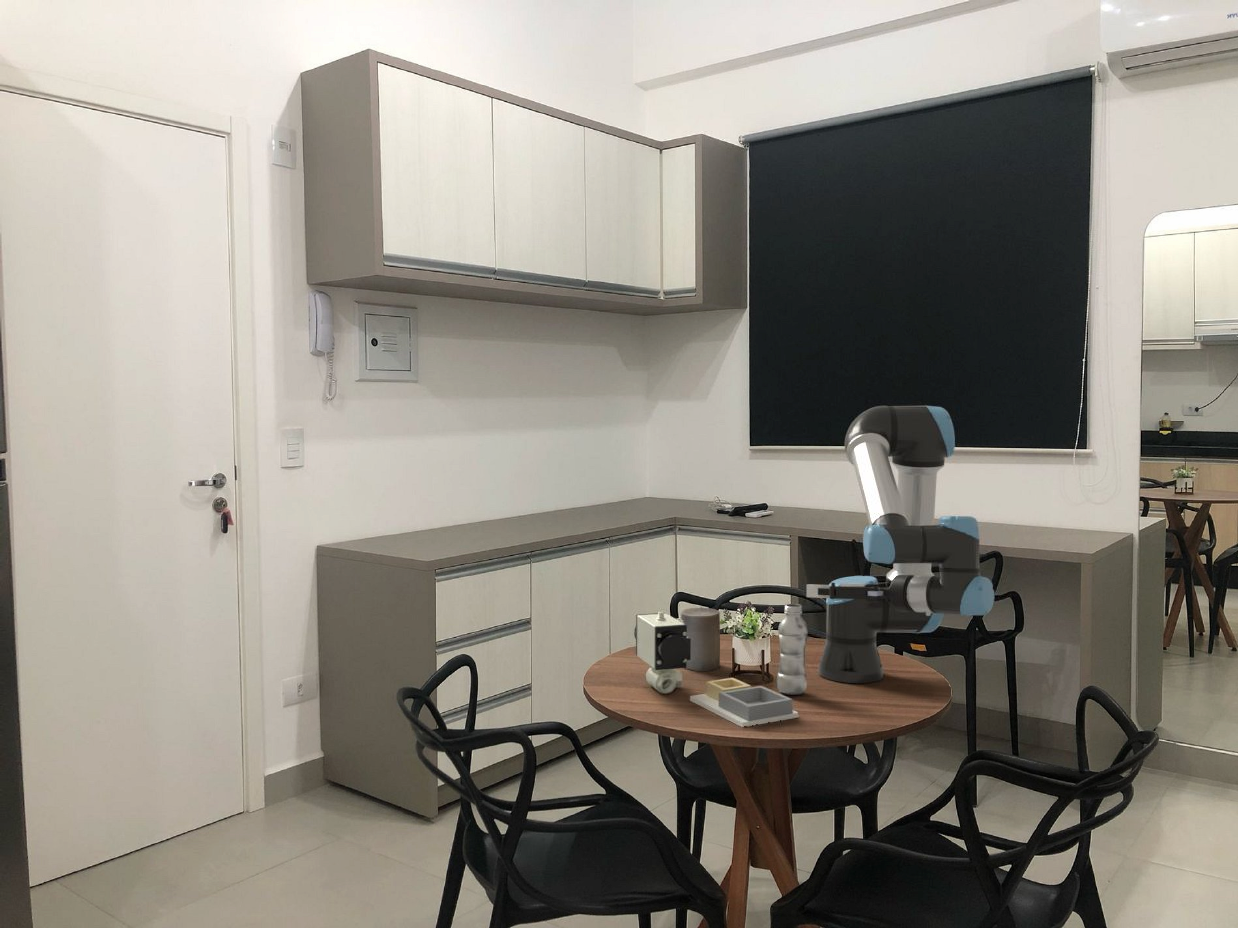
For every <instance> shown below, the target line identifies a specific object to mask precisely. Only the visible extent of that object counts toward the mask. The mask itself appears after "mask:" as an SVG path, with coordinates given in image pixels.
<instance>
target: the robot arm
mask: <svg viewBox="0 0 1238 928" xmlns="http://www.w3.org/2000/svg"><path fill="white" fill-rule="evenodd" d="M952 421H953V420H952V418H951V415H950V414H949V412H948V411H947V410H946V408H943V407H942V406H933V405H892V406H891V405H889V406H888V405H879V406H877V405H876V406H874V407H871V408H869V409H867V410H865V411H863V412H861V413H860V414H859V415H857V417H855V419H854V420H853V421H852V422H851V423H850V426H849V427H848V429H847V432H846V434H845V438H844V451H845V455H846V458H847V461H848V462H849V463H850V464H851V465H852V466H853V467H854V471H855V474H856V477H857V482H858V487H859V490H860V494H861V498H862V501H863V504H864V507H865V513H866V516H867V519H868V520H867V521H868V523H869V525H867V526H866V527H865V529H864V531H863V536H862V545H863V546H862V547H863V553H864V554H863V555H864V557H865V559H866V560H867V562H870V563H876V564H886V565H890V564H892V566H893V568H892V569H890V571H888V572H887V573H886V577H885V582H879V581H878V579H877V578H876V577H874V576H872V575H871V576H870V575H864V576H863V575H854V576H851V575H850V576H845V577H840V578H837V579H834V580H832V581H831V582H830V583H829V584H812V583H811V584H810V583H809V584H806V598H816V599H817V598H820V599H826V600H825V603H826V626H825V627H826V628H825V629H826V632H825V633H826V635H825V637H826V638H825V639H826V640H825V645H824V647H823V650H822V653H821V657H820V660H819V662H818V666H817V668H818V669H817V672H818V673H817V674H818V675H819V676H820V677H822V678H824V679H827V680H830V681H834V682H835V681H836V682H840V683H850V684H866V683H867V684H868V683H874V682H878V681H880V680H882V679H883V678H884V666H883V663H882V661H881V656H880V653H879V650H878V647H877V633H907V634H908V633H912V634H922V633H932V632H934V631H936V630H937V628H938V627H939V626H940V625H941V623H942V620H943V617H944V615H956V616H957V615H959V616H985V615H987V614H989V612H991V610H992V608H993V606H994V602H995V589H994V588H993V587H994V586H993V582H992V581H991V580H990V579H989V578H988V577H985V576H982V575H981V572H980V541H981V539H980V534H979V532H980V531H979V523H978V520H977V519H976V518H975V517H974V516H970V515H969V516H966V515H962V516H961V515H956V516H955V515H954V516H953V515H948V516H947V515H946V516H943V515H942V516H941V517H939V518H938V522H937V525H936V524H935V512H936V496H937V495H936V494H937V479H938V477H937V475H938V472H939V471H940V470H941V469H942V468H944V467H945V460H946V459H945V458H950V457H952V456H953V455H954V453H955V451H954V450H955V448H956V445H955V444H956V442H955V440H956V437H955V436H956V435H955V428H954V424H953V422H952ZM889 457H892V458H891V459H892V462H891V461H890V459H889ZM890 462H891V463H890ZM891 464H892V465H893V466H894V467H895V468H896V470H898V473H897V474H898V475H897V476H898V477H897V482H896V478H895V475H894V471H893V469H892V466H891ZM934 524H935V525H934ZM932 564H939V565H938V567H939V575H934V573H933V572H932Z"/></svg>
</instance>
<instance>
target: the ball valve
mask: <svg viewBox="0 0 1238 928" xmlns="http://www.w3.org/2000/svg"><path fill="white" fill-rule="evenodd" d="M633 632H634V633H633V635H634V638H635V639H634V640H635V656H637V657H638V658H639V659H641V660H642V661H644V662H645V663H646V664H647V665H649V666H650V667H649V668H648V670H647V671H646V674H645V676H646V681H647V683H648V684H649V685H650V686H651V687H653V688H654V689H655V690H656V691H658V693H661V694H664V695H665V694H670V693H672V692H673V691H674V690H675V689H676V688H680V687H681V686H682V684H683V674H682V672H681V670H679V669H686V665H687V660H690V659H691V639H690V638H688V637H687V625H685V624H684V622H683V620H681V618H675V617H673V616H671V615H670V614H668V613H666V612H663V611H658V612H657V613H655V612H654V613H642V614H641V613H640V614H636V615H635V627H634V631H633Z"/></svg>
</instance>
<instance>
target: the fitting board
mask: <svg viewBox="0 0 1238 928" xmlns="http://www.w3.org/2000/svg"><path fill="white" fill-rule="evenodd" d="M689 701H690V702H692V703H694V704H696V705H698V706H699V707H702V708H704V709H706V710H707V711H710V712H711V713H713V714H715V715H717V716H719V717H722V718H723V719H725V720H727V721H730V722H731V723H733V724H735V725H737V726H739V727H740V726H741V727H740V728H745V727H744V726H747V727H751V726H752V725H753V726H756V724H758V725H764V724H768V722H770V723H774V722H779V721H780V720H781V721H786V720H790V719H791V720H793V719H795V718H799V712H798V711H796V710H793V709H794V705H793V703H794V702H793V699H792V698H790V697H789V696H786V695H785V694H783V693H779V692H777V691H774V690H773V689H769V688H767V687H765V686H763V685H757V686H752V685H750V684H748V683H746V682H744V681H741V680H739V679H737V678H735V677H728V678H720V679H716V680H709V681H706V682H705V693H702V694H694V695H689Z"/></svg>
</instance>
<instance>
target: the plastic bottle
mask: <svg viewBox="0 0 1238 928" xmlns="http://www.w3.org/2000/svg"><path fill="white" fill-rule="evenodd" d="M802 610H803V609H802V604H797V603H787V604H784V610H783V612H784V613H783V614H785V616H784V617H783V618H782V620H781V621H780V623H779V625H778V630H777V632H778V639H779V652H780V653H779V654H780V655H779V664H778V665H779V666H778V672H777V675H776V676H777V677H776V686H777V689H778V692H780V694H783V695H791V696H792V695H794V696H795V695H802V694H803V693H805V691H806V690H807V685H808V679H807V674H806V660H805V658H806V654H805V653H806V647H807V646H806V645H807V639H808V634H809V628H808V624H807V623H806V621H805V620H804V618H803V617H802V615H803V611H802Z"/></svg>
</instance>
